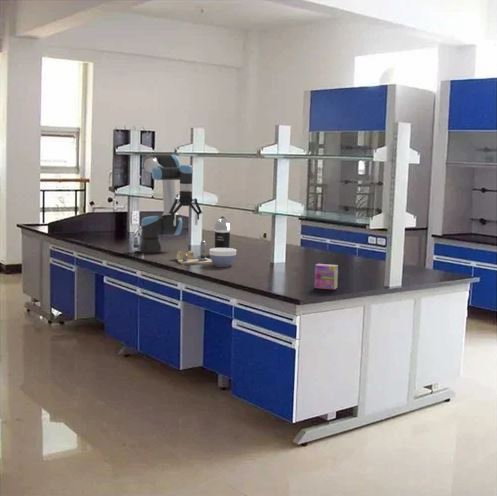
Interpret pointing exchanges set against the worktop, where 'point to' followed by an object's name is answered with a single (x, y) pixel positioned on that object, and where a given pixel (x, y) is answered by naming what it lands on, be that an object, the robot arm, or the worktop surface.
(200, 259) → the tall steel post
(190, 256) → the brass collar
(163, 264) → the worktop surface
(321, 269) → the box
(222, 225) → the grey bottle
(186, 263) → the birch board
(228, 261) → the bowl
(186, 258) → the short steel post
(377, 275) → the worktop surface
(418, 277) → the worktop surface
